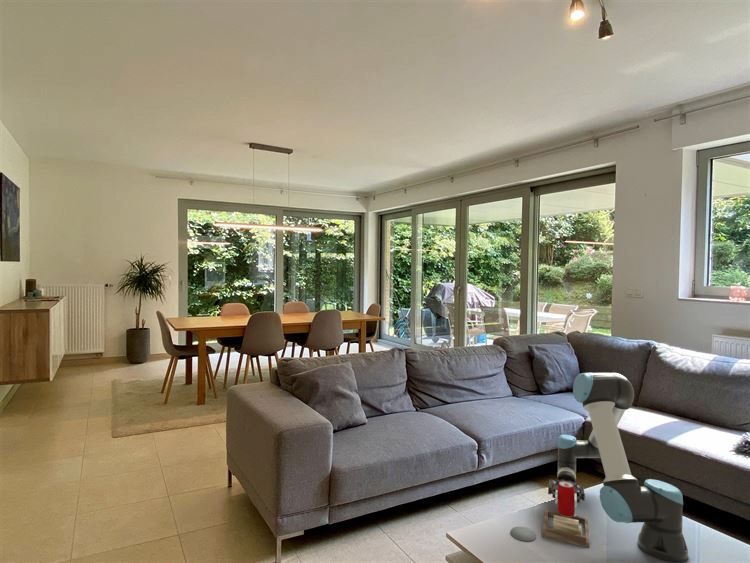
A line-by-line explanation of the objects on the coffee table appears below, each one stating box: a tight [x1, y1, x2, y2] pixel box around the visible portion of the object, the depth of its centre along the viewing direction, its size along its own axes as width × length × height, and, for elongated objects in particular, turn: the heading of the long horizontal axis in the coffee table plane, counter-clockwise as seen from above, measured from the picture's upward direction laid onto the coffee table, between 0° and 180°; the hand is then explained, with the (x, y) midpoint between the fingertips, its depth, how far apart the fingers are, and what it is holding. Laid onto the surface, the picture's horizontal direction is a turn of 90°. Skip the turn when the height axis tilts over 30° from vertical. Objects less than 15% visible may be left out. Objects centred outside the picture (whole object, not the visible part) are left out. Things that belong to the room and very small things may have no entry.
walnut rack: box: [541, 509, 591, 548], centre depth 174 cm, size 19×16×3 cm
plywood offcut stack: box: [552, 515, 583, 536], centre depth 169 cm, size 4×10×6 cm, turn 65°
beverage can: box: [557, 481, 576, 517], centre depth 179 cm, size 6×6×12 cm
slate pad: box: [510, 526, 537, 543], centre depth 170 cm, size 9×9×1 cm
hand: (565, 501), depth 174 cm, fingers closed on beverage can, 6 cm apart
